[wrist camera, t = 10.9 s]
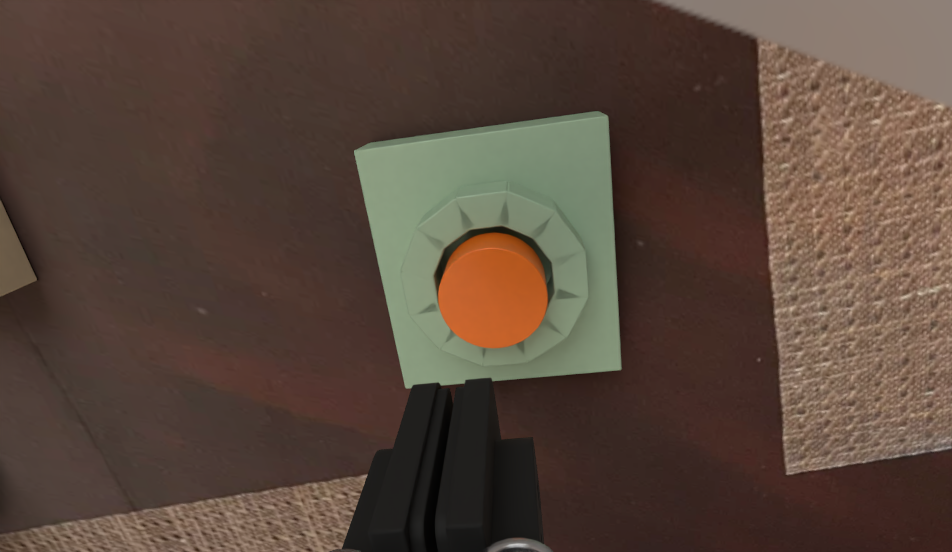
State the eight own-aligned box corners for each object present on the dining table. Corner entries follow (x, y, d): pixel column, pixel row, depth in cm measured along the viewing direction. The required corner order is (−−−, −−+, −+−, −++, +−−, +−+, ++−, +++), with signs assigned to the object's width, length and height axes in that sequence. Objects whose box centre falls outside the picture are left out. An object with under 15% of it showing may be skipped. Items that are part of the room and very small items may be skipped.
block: (369, 143, 21) (337, 158, 18) (599, 110, 20) (618, 119, 16) (414, 362, 25) (396, 414, 21) (612, 344, 24) (631, 395, 20)
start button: (436, 238, 19) (429, 254, 17) (539, 226, 18) (542, 241, 17) (452, 330, 20) (447, 353, 18) (549, 320, 20) (552, 343, 18)
